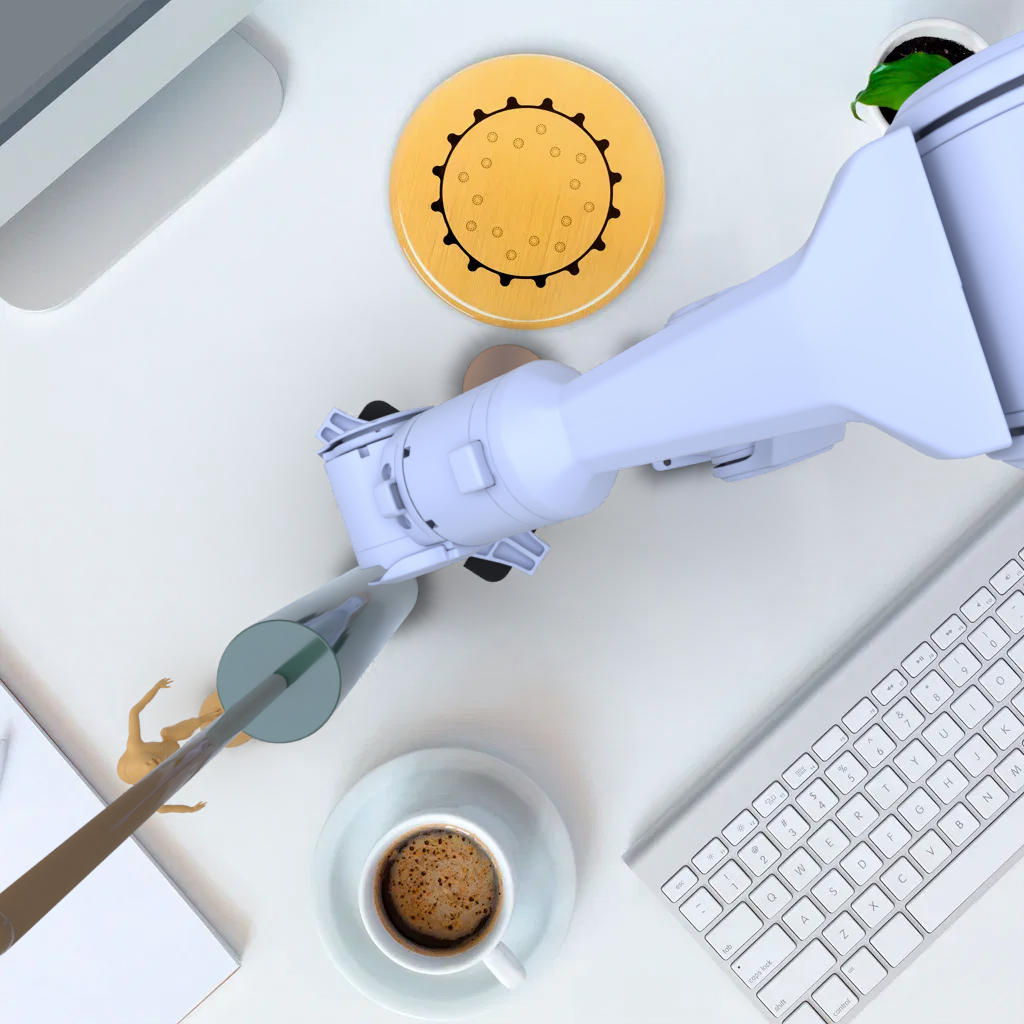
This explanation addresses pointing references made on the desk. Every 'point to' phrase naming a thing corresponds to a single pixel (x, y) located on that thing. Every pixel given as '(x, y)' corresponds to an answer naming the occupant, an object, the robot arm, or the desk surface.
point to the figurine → (166, 742)
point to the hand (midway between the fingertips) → (444, 490)
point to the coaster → (496, 364)
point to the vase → (236, 719)
